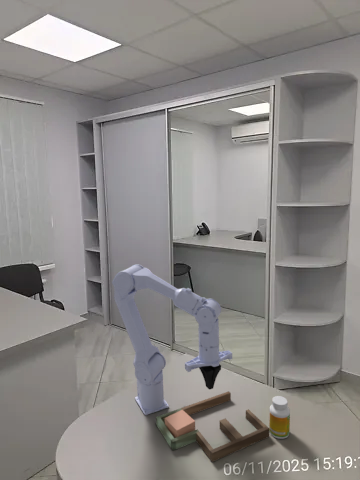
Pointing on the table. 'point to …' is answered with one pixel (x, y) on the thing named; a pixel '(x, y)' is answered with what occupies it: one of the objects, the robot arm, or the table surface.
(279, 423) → the supplement bottle
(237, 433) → the frame
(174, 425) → the terracotta block
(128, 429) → the table surface
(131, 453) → the table surface
